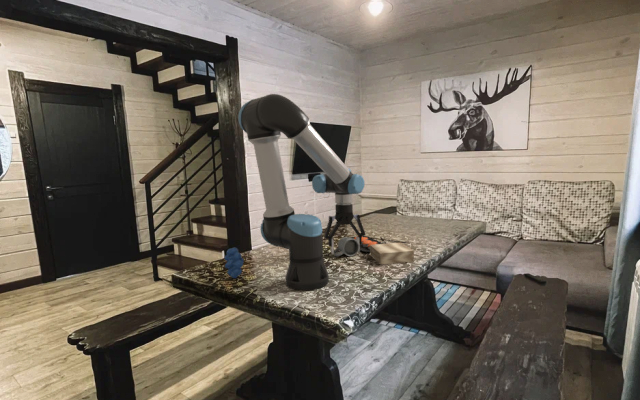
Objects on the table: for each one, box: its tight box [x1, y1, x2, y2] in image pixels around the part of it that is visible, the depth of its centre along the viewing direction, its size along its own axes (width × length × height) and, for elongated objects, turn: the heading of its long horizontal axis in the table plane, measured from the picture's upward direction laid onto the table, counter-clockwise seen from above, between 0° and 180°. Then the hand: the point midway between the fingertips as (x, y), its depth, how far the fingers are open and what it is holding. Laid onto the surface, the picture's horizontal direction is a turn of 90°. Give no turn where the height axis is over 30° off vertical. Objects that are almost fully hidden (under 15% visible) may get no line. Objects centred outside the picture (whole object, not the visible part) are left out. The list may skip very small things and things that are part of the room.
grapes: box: [224, 247, 245, 279], centre depth 123 cm, size 12×7×12 cm, turn 41°
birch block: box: [369, 241, 415, 265], centre depth 140 cm, size 14×14×5 cm
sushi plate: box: [348, 235, 409, 253], centre depth 165 cm, size 29×30×4 cm
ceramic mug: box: [333, 236, 359, 257], centre depth 148 cm, size 11×8×8 cm
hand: (345, 252), depth 148 cm, fingers closed on ceramic mug, 11 cm apart
